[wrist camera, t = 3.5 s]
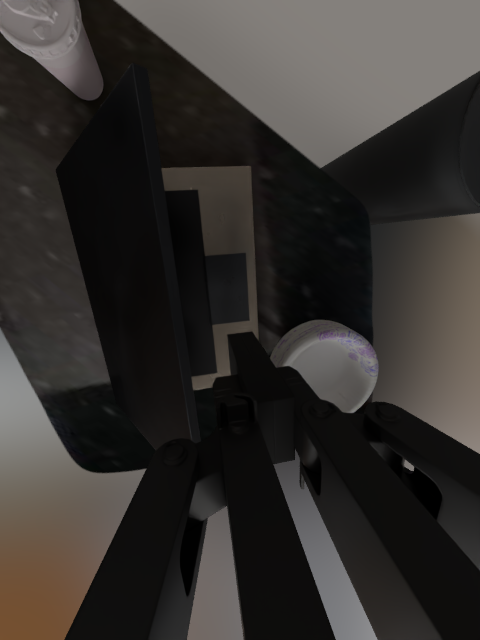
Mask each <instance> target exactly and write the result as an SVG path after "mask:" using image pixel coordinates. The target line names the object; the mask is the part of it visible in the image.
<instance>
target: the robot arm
mask: <svg viewBox="0 0 480 640" xmlns="http://www.w3.org/2000/svg"><path fill="white" fill-rule="evenodd" d="M227 339H228V350H229V362H230V373H231V375H228V376H222V377H216V379H215V381H214V382H213V392H214V401H215V409H216V418H217V426H216V429H215V430H214V432H213V433H212V434H211V435H210V436H209V437H208V438H206V439H204V440H202V441H200V442H198V443H196V444H195V443H194V442H193V441H191V440H190V439H185V438H178V439H173V440H171V441H168V442H166V443H164V444H163V445H162V446H160V447H159V448H158V449H157V451H156V452H155V453H154V455H153V456H152V459H151V461H150V463H149V465H148V467H147V469H146V471H145V474H144V475H143V477H142V480H141V481H140V483H139V486H138V488H137V490H136V492H135V494H134V496H133V498H132V500H131V503H130V504H129V506H128V508H127V511H126V513H125V515H124V517H123V519H122V521H121V523H120V525H119V527H118V529H117V531H116V534H115V536H114V538H113V540H112V542H111V544H110V546H109V548H108V550H107V552H106V555H105V556H104V559H103V561H102V563H101V565H100V567H99V569H98V571H97V573H96V575H95V577H94V579H93V581H92V583H91V585H90V588H89V590H88V592H87V594H86V596H85V598H84V600H83V602H82V604H81V606H80V608H79V611H78V613H77V615H76V617H75V619H74V621H73V623H72V625H71V627H70V629H69V631H68V633H67V635H66V637H65V640H187V635H188V629H189V624H190V617H191V612H192V606H193V600H194V595H195V589H196V583H197V577H198V572H199V566H200V561H201V555H202V549H203V543H204V538H205V532H206V525H207V519H208V517H209V516H211V515H213V514H214V513H216V512H218V511H219V510H221V509H222V508H224V507H226V506H227V509H228V517H229V524H230V532H231V540H232V549H233V556H234V565H235V572H236V581H237V589H238V597H239V604H240V613H241V621H242V629H243V637H244V640H336V639H335V636H334V634H333V631H332V628H331V625H330V622H329V619H328V617H327V614H326V611H325V608H324V606H323V603H322V600H321V597H320V594H319V591H318V589H317V586H316V583H315V580H314V577H313V575H312V572H311V569H310V567H309V563H308V561H307V558H306V555H305V552H304V549H303V547H302V544H301V541H300V538H299V536H298V533H297V530H296V527H295V524H294V521H293V518H292V516H291V513H290V510H289V507H288V504H287V502H286V499H285V496H284V493H283V490H282V488H281V485H280V482H279V479H278V477H277V474H276V471H275V468H274V465H273V464H277V463H282V462H287V461H292V460H295V449H296V451H297V453H298V455H299V457H300V487H301V489H304V480H305V482H306V484H307V487H308V489H309V491H310V493H311V495H312V497H313V500H314V502H315V504H316V506H317V508H318V511H319V513H320V515H321V517H322V519H323V521H324V524H325V526H326V528H327V530H328V532H329V534H330V537H331V539H332V541H333V543H334V545H335V547H336V550H337V552H338V554H339V556H340V558H341V561H342V563H343V565H344V567H345V569H346V571H347V574H348V576H349V578H350V580H351V582H352V584H353V587H354V589H355V591H356V593H357V595H358V597H359V600H360V602H361V604H362V606H363V608H364V611H365V613H366V615H367V617H368V619H369V621H370V624H371V626H372V628H373V630H374V632H375V635H376V637H377V639H378V640H480V454H479V453H477V452H475V451H473V450H472V449H470V448H468V447H467V446H465V445H463V444H462V443H460V442H458V441H456V440H455V439H453V438H451V437H450V436H448V435H446V434H445V433H443V432H441V431H439V430H438V429H436V428H434V427H433V426H431V425H429V424H427V423H426V422H424V421H422V420H421V419H419V418H417V417H415V416H414V415H412V414H410V413H409V412H407V411H405V410H404V409H402V408H400V407H398V406H396V405H393V404H389V403H386V402H372V403H369V404H368V405H367V406H366V408H365V414H359V413H346V412H342V411H341V410H340V409H339V408H338V407H337V406H336V405H335V404H333V403H331V402H329V401H327V400H322V399H320V398H319V397H318V396H317V394H316V393H315V392H314V391H313V389H312V388H311V387H310V386H309V384H308V383H306V381H305V379H304V378H302V376H301V374H300V373H299V372H298V371H297V370H296V369H294V368H292V367H290V366H284V367H277V368H276V367H275V365H274V364H273V362H272V361H271V359H270V358H269V356H268V355H267V353H266V351H265V350H264V348H263V347H262V345H261V344H260V342H259V341H258V339H257V338H256V336H255V335H254V333H253V332H252V331H251V332H243V333H235V334H227ZM405 460H407V461H408V462H409V463H411V464H412V465H413V466H414V471H410V470H409V469H407V468H406V467H404V462H405Z"/></svg>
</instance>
